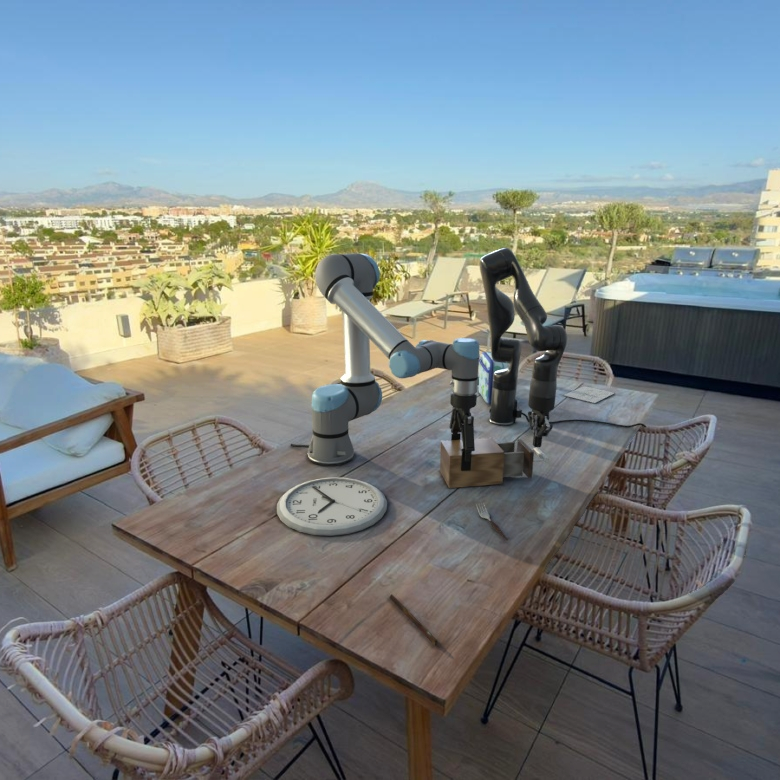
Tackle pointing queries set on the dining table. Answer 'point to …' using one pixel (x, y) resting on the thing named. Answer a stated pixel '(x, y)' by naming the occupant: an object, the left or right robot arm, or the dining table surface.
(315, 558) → the dining table surface
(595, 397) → the invitation card
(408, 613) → the dark brown rod
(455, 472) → the cabinet
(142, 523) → the dining table surface
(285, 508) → the wall clock
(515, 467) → the drawer
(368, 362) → the left robot arm
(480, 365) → the lunch box
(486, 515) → the fork
